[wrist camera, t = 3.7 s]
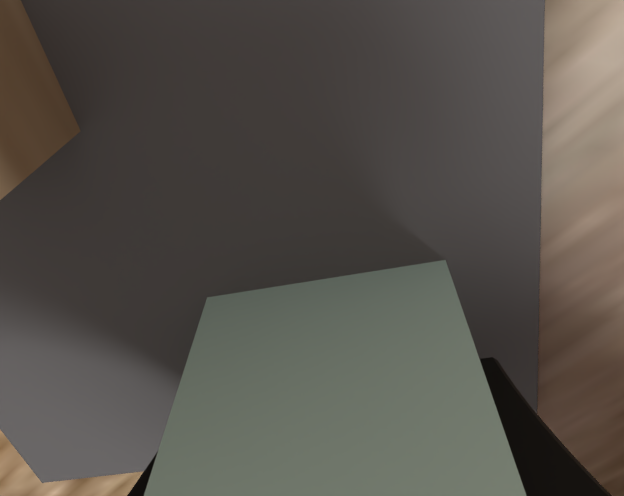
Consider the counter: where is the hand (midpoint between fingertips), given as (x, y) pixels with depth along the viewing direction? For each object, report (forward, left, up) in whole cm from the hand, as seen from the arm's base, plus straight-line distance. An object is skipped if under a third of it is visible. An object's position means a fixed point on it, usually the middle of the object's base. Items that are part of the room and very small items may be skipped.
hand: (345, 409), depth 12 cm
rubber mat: (+3, -4, -2) cm, 5 cm away
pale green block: (0, 0, -1) cm, 1 cm away
